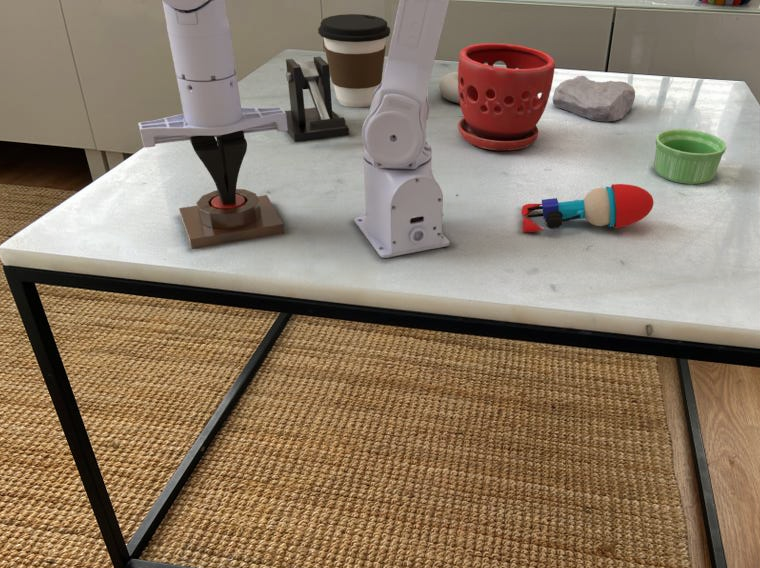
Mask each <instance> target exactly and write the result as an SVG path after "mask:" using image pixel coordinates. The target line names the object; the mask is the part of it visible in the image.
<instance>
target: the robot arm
mask: <svg viewBox="0 0 760 568" xmlns="http://www.w3.org/2000/svg"><path fill="white" fill-rule="evenodd" d="M161 2H162V7H163V12H164V17H165V22H166V23H165V24H166V31H167V36H168V41H169V46H170V52H171V56H172V61H173V66H174V73H175V76H176V82H177V88H178V92H179V97H180V103H181V109H182V113H179V114H175V115H171V116H166V117H163V118H158V119H154V120H148V121H140V122H137V124H138V129H139V134H140V138H141V142H142V145H143V148H153V147H156V145H158V144H159V145H161V144H166V143H175V142H177V143H178V142H185V141H190V144H191V146H192V148H193V151H194V152H195V154H196V155H197V157H198V158H199V160H200V162H202V164H203V166H204V167H205V168H206V171H208V173H209V176H210V177H211V178H212V180H213V182H214V184H215V187H216V190H218V193H219V197H220V200H221V202H222V204H223V205H227V204H234V203H236V189H237V184H238V178H239V174H240V170H241V168H242V167H241V166H242V164H243V161H244V158H245V156H246V154H247V151H248V142H247V139H246V137H245V134H251V133H260V132H268V131H269V132H270V131H275V130H276V131H277V132H279V133H280V132H287V130H288V128H287V118H286V113H285V111H286V110H284V109H283V107H281V106H279V107H242V103H241V97H240V89H239V83H238V75H237V69H236V63H235V56H234V55H235V54H234V48H233V43H232V35H231V27H230V22H229V19H228V12H227V6H226V0H161ZM449 2H450V0H399V2H398V6H397V11H396V14H395V15H396V16H395V19H394V25H393V29H392V35H391V39H390V45H389V49H388V53H387V54H388V55H387V59H386V64H385V67H384V71H383V72H384V73H383V75H382V81H381V83H380V85H379V86H378V87H377V88H376V89H375V91H374V93H373V95H372V98H371V102H370V106H369V109H368V113H367V116H366V117H365V118H364V121H363V124H362V126H361V127H362V128H361V142H362V144H363V147H364V148H363V150H362V156H363V159H362V160H363V175H364V176H363V177H364V179H363V181H364V182H363V183H364V200H365V202H364V203H365V215H359V216H356V217H354V220H353V221H354V223H355V224H356V226H357V227H358V229H359V231H361V232H362V235H364V236H365V238H366V239H367V241H368V242H369V243H370V245H371V246H372V247H373V249H374V250H375V252H376V253H377V254H378V255H379V257H380V258H382V259H387V258H393V257H398V256H403V255H408V254H413V253H419V252H423V251H424V252H425V251H429V250H435V249H440V248H445V247H448V246H450V240H449V239H448V238H447V237H446V236H445V234H444V233H443V216H444V215H443V213H444V211H443V210H444V195H443V191H442V188H441V186H440V185H439V182H438V181H437V180H436V178H435V176H434V174H433V167H432V161H433V157H432V156H433V155H432V154H433V151H432V147H431V145H429V143H428V141H427V133H426V130H427V121H428V119H429V114H430V103H429V99H428V93H429V87H430V82H431V77H432V73H433V68H434V64H435V60H436V56H437V52H438V47H439V43H440V41H441V40H440V39H441V36H442V32H443V27H444V24H445V19H446V15H447V11H448V6H449Z"/></svg>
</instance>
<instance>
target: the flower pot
mask: <svg viewBox="0 0 760 568" xmlns="http://www.w3.org/2000/svg"><path fill="white" fill-rule="evenodd" d="M497 62H502V63H504V65H505V67H503V66H502V67H501V66H494V64H495V63H497ZM486 63H487V64H486ZM457 67H458V68H457V71H458V93H459V101H460V104H459V105H460V106H459V107H460V109H461V113H462V116H463V118H461V119H460V120H459V122H458V124H457V129H458V132H459V134H460V135H461V137H462V138H463V140H465V141H466V142H468V143H469V144H471V145H473V146H476V147H478V148H481V149H486V150H488V151H489V150H490V151H499V152H502V151H503V152H504V151H515V150H516V151H517V150H521V149H523V148H527V147H528V146H530V145H532V144H533V143H534V142H535V141H536V140H537V138H538V136H539V133H540V130H539V127H538V126H537V125H538V123H539V121H540V120H541V118H542V116H543V115H544V112H545V110H546V107H547V104H548V103H549V99H550V94H551V91H552V86H553V80H554V77H555V69H556V61H555V59H554V58H553V57H552V56H551V55H549V53H546V52H545V51H542V50H539V49H536V48H533V47H529V46H524V45H518V44H512V43H502V42H501V43H500V42H499V43H498V42H489V43H488V42H487V43H486V42H485V43H476V44H471V45H468V46H467V45H466V47H464V48H462V49H461V50H460V52H459V57H458V66H457ZM539 94H541V95H540V97H539Z"/></svg>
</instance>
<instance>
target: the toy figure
mask: <svg viewBox="0 0 760 568" xmlns="http://www.w3.org/2000/svg"><path fill="white" fill-rule="evenodd" d="M654 202H655V201H654V198H653V195H652V194H651V193H650V192H649V191H648V190H646V189H645V188H642V187H640V186H639V185H638V186H637V185H633V184H627V183H614V184H611V186H605V187H596V188H594V189H592V190H590V191H589V192H587V194H586V195H585V196H584V197H583V199H575V200H572V201H571V200H568V201H560V202H559V200H558V198H557V197H554V198H553V197H552V198H544V199H541V203H525V204H523V205H522V207H521V215H522V217H524V218H523V220H522V231H523V232H524V233H532V232H538V231H542V230H544V228H543V227H541V226H539V225H538V224H536V223H535V222H534V221H533V220H532V218H541V217H543V219H544V221H545V223H546V227H547V228H549V229H558V228H561V227H562V226H563V222H569V221H575V220H583V219H585V220H586V221H587V222H588V223H589V224H591V225H593V226H597V227H604V226H607V227H608V228H614V229H619V228H624V227H628V226H631V225H634V224H636V223H638V222H640V221H642V220H643V219H645V218H647V216H648V215H649V214H650V213H651V211H652V210H653V207H654V205H655V204H654ZM539 210H541V211H542V212H539V213H538V212H537V213H533V212H534V211H539Z"/></svg>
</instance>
